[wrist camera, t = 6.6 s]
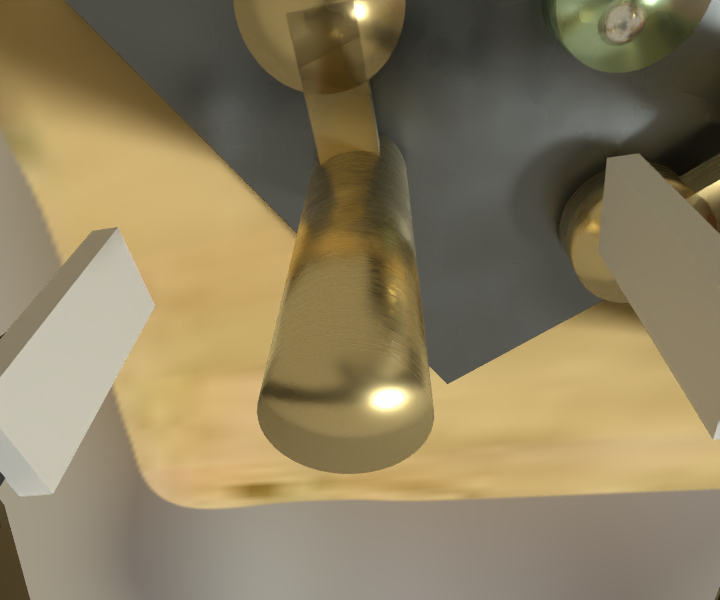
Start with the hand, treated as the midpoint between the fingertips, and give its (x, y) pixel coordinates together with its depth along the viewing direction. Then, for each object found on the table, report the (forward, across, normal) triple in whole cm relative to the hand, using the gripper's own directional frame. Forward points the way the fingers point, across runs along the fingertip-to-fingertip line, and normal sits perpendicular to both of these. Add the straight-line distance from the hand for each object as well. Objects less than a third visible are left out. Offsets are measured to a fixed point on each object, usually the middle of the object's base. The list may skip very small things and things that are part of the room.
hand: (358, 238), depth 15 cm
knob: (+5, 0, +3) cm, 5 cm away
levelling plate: (+6, +6, +4) cm, 9 cm away
